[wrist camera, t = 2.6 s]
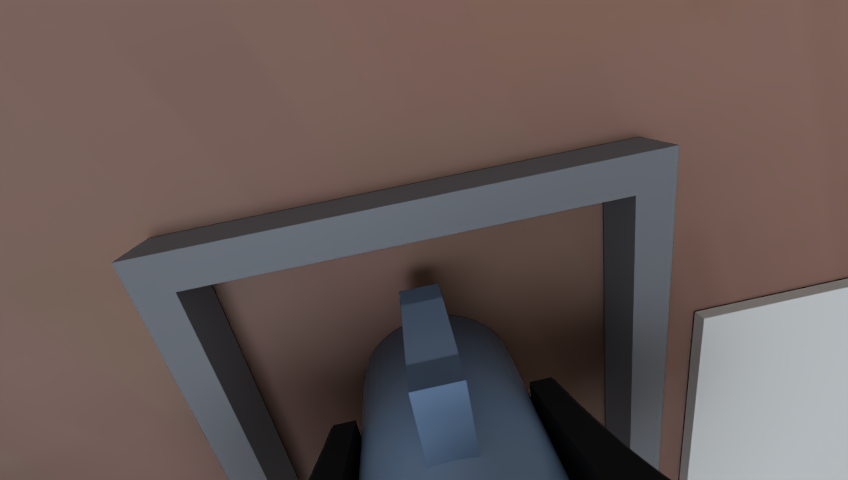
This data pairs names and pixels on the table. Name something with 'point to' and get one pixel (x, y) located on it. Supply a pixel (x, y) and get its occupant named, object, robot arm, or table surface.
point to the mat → (770, 388)
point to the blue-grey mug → (449, 403)
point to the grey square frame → (401, 224)
